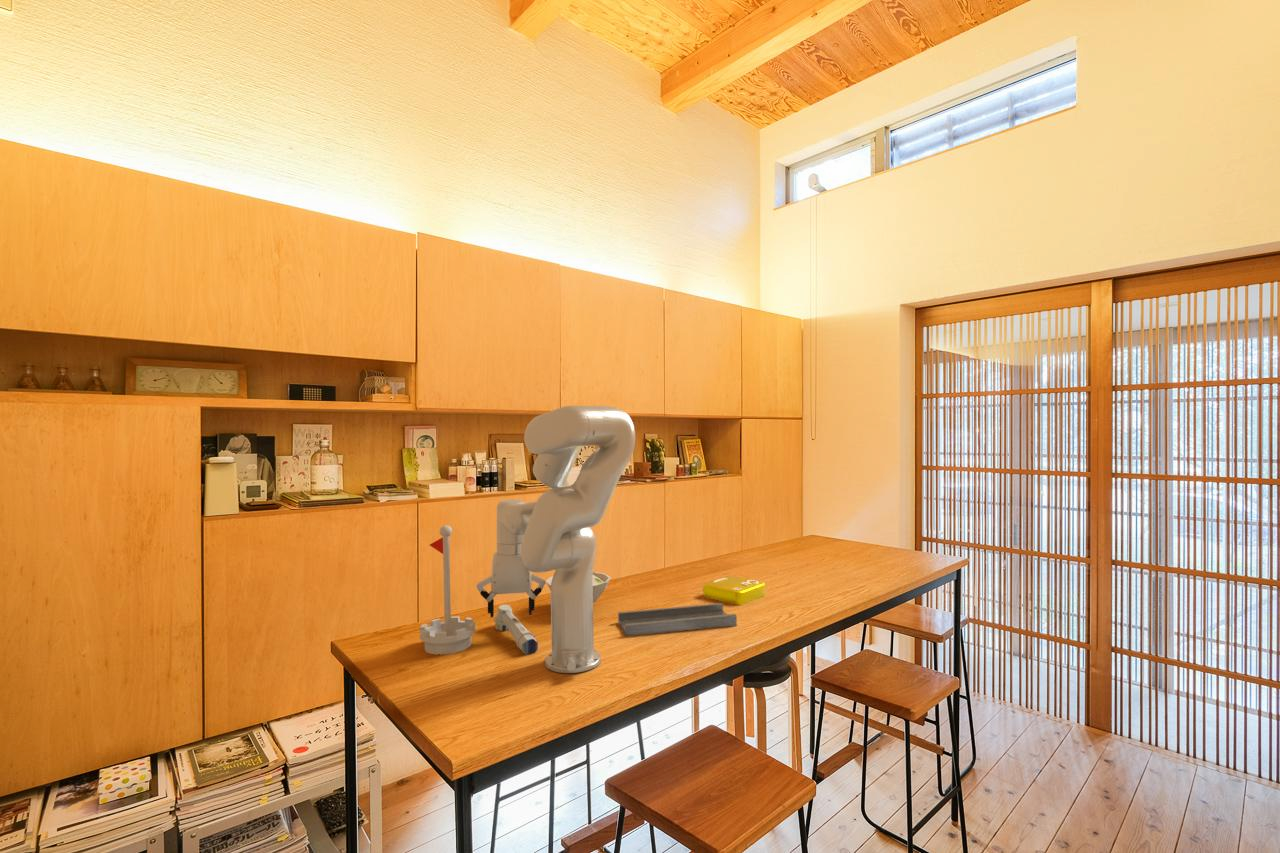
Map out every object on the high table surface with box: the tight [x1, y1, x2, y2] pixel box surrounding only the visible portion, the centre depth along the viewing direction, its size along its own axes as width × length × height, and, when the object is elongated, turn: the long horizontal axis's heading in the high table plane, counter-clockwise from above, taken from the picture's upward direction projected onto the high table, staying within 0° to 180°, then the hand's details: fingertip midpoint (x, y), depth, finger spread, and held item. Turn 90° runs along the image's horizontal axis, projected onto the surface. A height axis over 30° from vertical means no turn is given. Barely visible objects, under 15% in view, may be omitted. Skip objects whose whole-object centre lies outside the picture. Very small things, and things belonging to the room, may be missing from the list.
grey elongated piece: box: [493, 604, 539, 655], centre depth 150 cm, size 5×7×25 cm
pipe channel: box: [617, 602, 738, 638], centre depth 158 cm, size 11×30×3 cm, turn 103°
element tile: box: [702, 575, 766, 606], centre depth 184 cm, size 15×15×5 cm
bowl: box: [545, 571, 612, 604], centre depth 173 cm, size 19×19×10 cm
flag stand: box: [419, 524, 476, 656], centre depth 145 cm, size 13×13×30 cm
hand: (511, 614), depth 151 cm, fingers open, 9 cm apart
